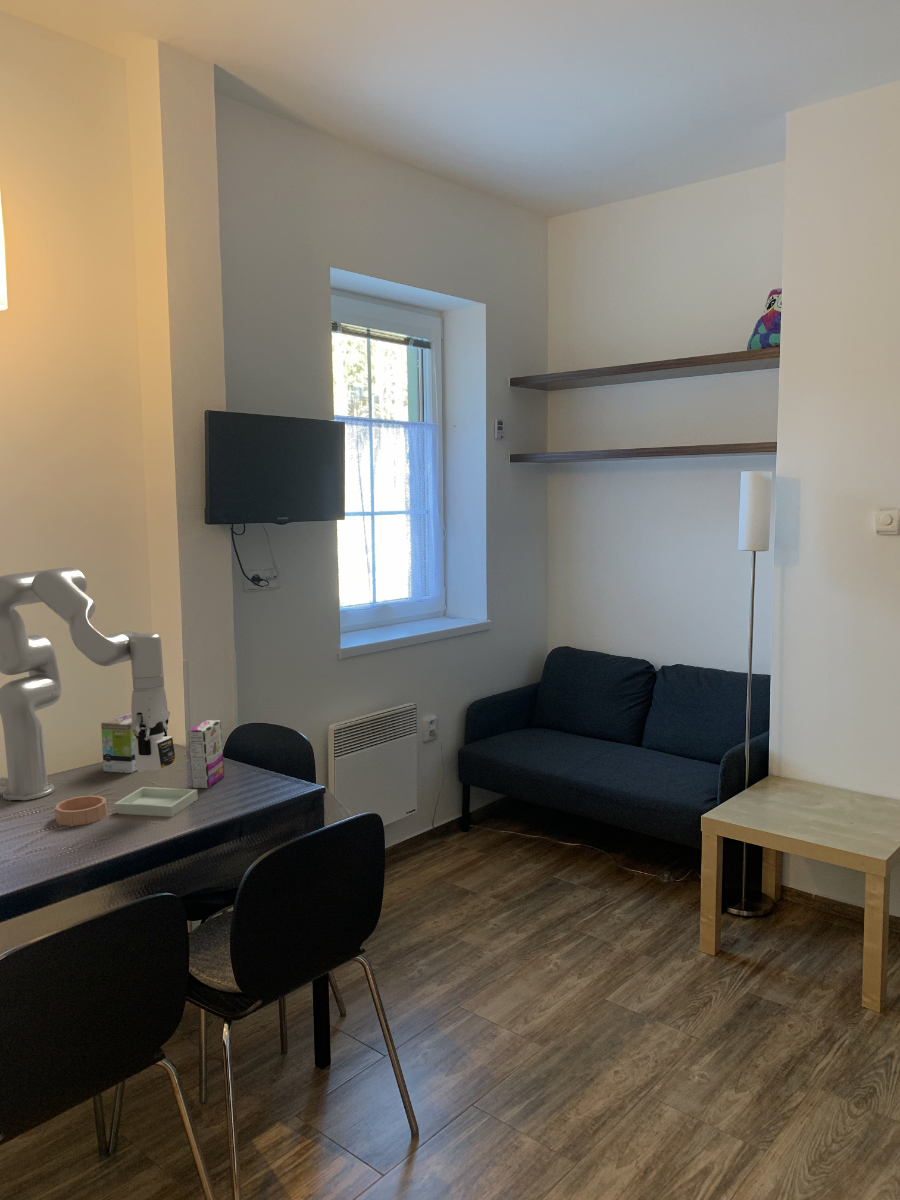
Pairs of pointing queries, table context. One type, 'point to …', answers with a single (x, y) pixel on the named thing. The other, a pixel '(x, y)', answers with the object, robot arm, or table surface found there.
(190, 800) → the tray
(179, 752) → the table surface
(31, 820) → the table surface
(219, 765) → the candy bar box
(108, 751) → the tea box
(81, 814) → the faceted tan ring
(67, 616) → the robot arm
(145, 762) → the medicine bottle
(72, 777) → the table surface
